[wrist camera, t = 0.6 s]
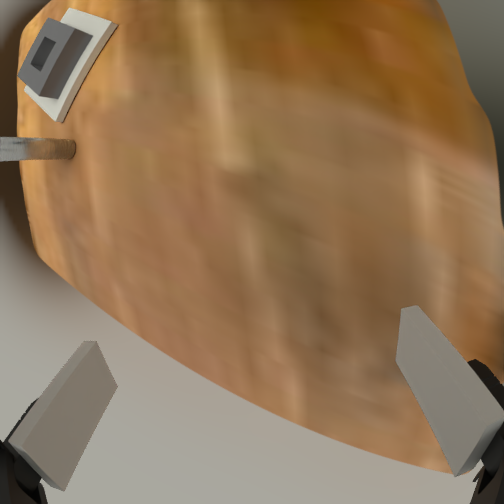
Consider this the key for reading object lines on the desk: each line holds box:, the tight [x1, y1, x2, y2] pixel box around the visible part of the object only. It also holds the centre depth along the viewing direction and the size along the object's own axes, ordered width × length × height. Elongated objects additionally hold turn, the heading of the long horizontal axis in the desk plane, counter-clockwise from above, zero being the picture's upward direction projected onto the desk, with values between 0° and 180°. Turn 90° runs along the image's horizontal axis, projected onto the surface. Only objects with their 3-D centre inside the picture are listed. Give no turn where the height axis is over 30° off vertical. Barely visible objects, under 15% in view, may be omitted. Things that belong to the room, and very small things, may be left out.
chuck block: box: [17, 8, 118, 122], centre depth 32 cm, size 17×15×6 cm
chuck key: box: [0, 137, 75, 161], centre depth 29 cm, size 8×3×16 cm, turn 143°
